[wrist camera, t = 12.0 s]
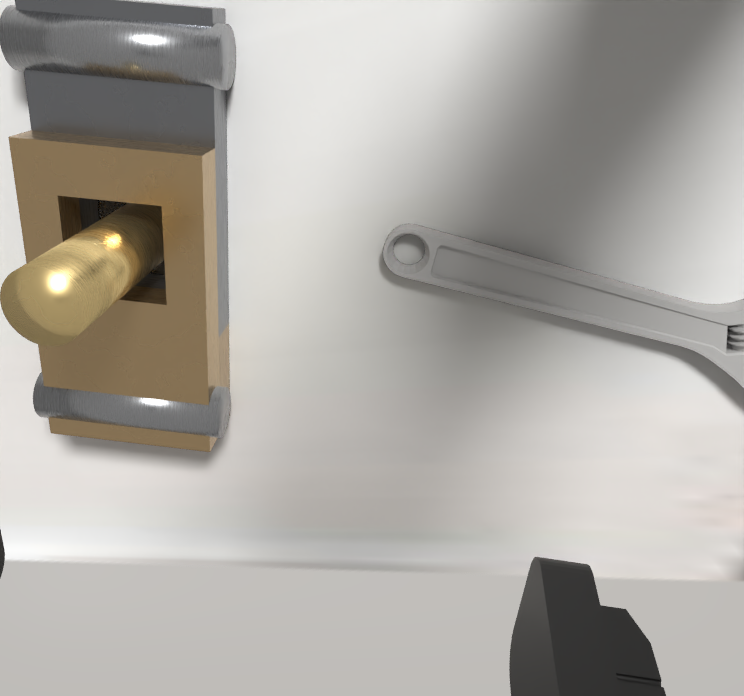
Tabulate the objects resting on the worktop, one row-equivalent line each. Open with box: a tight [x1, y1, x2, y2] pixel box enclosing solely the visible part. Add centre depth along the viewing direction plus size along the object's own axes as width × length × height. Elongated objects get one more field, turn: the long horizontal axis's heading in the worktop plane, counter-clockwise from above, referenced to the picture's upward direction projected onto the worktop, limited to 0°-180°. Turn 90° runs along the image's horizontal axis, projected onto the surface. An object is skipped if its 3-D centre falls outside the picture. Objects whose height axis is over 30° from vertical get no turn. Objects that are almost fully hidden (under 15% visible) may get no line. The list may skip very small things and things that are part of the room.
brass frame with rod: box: [0, 0, 236, 452], centre depth 36 cm, size 22×10×4 cm, turn 176°
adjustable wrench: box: [383, 224, 744, 388], centre depth 36 cm, size 25×6×2 cm, turn 72°
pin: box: [0, 203, 164, 346], centre depth 33 cm, size 3×3×11 cm
